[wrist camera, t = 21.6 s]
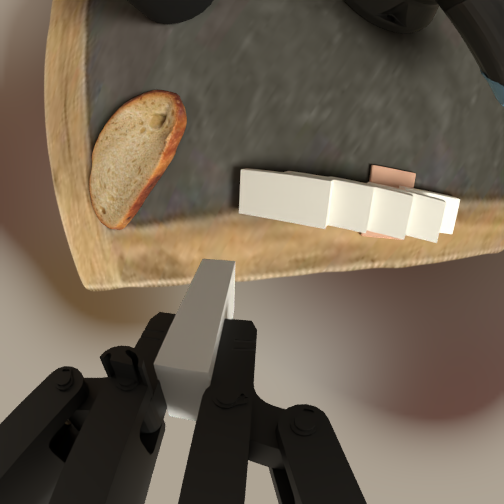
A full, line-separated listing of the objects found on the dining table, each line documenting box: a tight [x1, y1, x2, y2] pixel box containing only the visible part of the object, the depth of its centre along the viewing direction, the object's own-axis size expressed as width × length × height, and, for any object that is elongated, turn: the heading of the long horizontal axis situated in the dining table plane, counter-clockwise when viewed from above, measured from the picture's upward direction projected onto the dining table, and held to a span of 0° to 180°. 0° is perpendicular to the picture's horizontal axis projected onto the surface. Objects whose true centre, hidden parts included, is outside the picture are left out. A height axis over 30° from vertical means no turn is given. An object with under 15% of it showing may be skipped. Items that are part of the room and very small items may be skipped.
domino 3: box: [330, 176, 414, 240], centre depth 32 cm, size 2×6×11 cm
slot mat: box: [361, 165, 416, 240], centre depth 34 cm, size 7×10×1 cm
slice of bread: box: [89, 90, 187, 230], centre depth 33 cm, size 18×18×4 cm
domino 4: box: [367, 182, 446, 243], centre depth 31 cm, size 2×6×11 cm
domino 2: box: [285, 171, 374, 233], centre depth 32 cm, size 2×6×11 cm
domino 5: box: [399, 186, 460, 234], centre depth 33 cm, size 2×6×11 cm
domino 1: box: [239, 168, 333, 229], centre depth 32 cm, size 2×6×11 cm
